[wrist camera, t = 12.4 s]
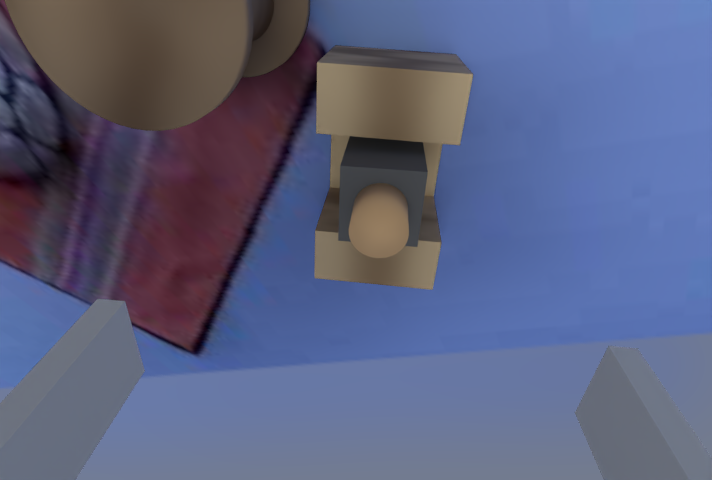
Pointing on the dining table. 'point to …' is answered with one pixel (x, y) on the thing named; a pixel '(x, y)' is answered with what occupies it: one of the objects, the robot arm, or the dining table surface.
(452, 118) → the wooden u-shaped block
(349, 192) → the gray block with knob
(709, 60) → the dining table surface
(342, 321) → the dining table surface
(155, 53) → the bobbin
